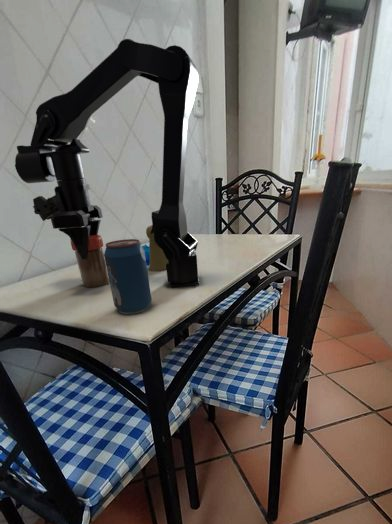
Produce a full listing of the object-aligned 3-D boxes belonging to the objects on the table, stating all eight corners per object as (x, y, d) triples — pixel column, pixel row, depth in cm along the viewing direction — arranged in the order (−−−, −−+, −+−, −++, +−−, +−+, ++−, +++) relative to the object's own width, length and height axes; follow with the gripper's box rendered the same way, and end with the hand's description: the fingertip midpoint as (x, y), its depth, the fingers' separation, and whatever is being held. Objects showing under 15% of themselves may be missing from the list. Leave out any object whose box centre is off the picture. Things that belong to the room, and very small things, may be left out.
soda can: (157, 302, 61) (148, 237, 55) (144, 315, 55) (133, 245, 49) (125, 301, 63) (113, 239, 57) (109, 314, 57) (94, 246, 51)
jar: (111, 278, 79) (102, 237, 74) (106, 285, 73) (97, 241, 69) (86, 280, 79) (76, 239, 74) (80, 288, 73) (68, 244, 68)
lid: (66, 251, 70) (63, 240, 69) (84, 245, 76) (81, 235, 75) (92, 250, 68) (90, 239, 67) (108, 244, 74) (106, 234, 73)
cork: (168, 270, 82) (163, 226, 77) (146, 270, 83) (140, 227, 78) (174, 264, 87) (169, 222, 82) (153, 265, 89) (148, 223, 83)
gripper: (48, 182, 73) (66, 250, 81) (12, 183, 57) (38, 268, 65) (95, 179, 74) (109, 247, 81) (73, 178, 57) (92, 264, 65)
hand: (88, 255), depth 73 cm, fingers closed on lid, 6 cm apart
